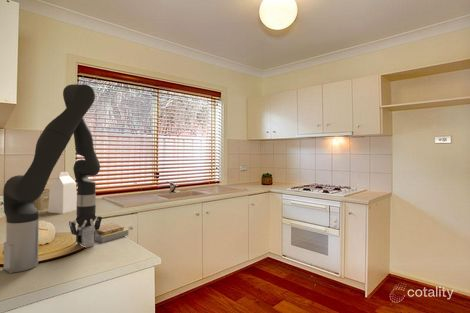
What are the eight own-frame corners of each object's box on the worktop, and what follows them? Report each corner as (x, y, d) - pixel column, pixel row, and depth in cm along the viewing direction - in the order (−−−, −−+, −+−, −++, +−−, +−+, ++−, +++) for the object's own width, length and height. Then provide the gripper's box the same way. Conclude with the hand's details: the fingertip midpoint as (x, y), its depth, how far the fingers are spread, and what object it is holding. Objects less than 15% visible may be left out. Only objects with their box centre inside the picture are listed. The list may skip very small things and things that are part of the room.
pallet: (103, 235, 126) (103, 232, 126) (90, 231, 132) (90, 227, 132) (124, 230, 136) (124, 226, 136) (111, 226, 142) (111, 222, 141)
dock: (102, 242, 124) (102, 236, 124) (85, 236, 132) (85, 230, 132) (128, 234, 136) (128, 229, 136) (111, 229, 144) (112, 224, 144)
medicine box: (94, 246, 120) (94, 226, 120) (83, 248, 117) (83, 228, 116) (87, 241, 125) (87, 223, 125) (76, 243, 122) (77, 224, 122)
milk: (63, 213, 173) (63, 173, 172) (48, 212, 175) (48, 172, 174) (77, 209, 184) (78, 172, 184) (63, 208, 187) (63, 171, 186)
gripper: (73, 208, 112) (73, 248, 113) (106, 202, 124) (105, 239, 125) (65, 205, 116) (64, 244, 117) (97, 200, 128) (96, 235, 129)
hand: (85, 241), depth 121 cm, fingers closed on medicine box, 5 cm apart
